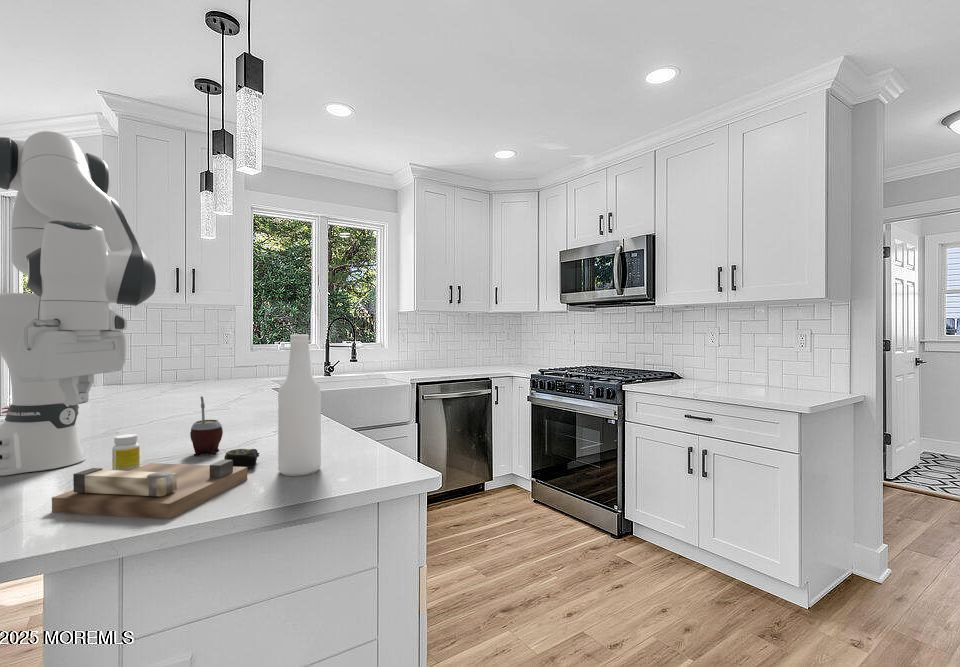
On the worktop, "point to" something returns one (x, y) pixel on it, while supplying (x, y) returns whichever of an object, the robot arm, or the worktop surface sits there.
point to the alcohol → (299, 414)
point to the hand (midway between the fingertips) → (76, 404)
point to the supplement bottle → (125, 453)
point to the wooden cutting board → (190, 492)
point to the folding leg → (125, 482)
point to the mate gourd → (206, 435)
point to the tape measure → (242, 457)
